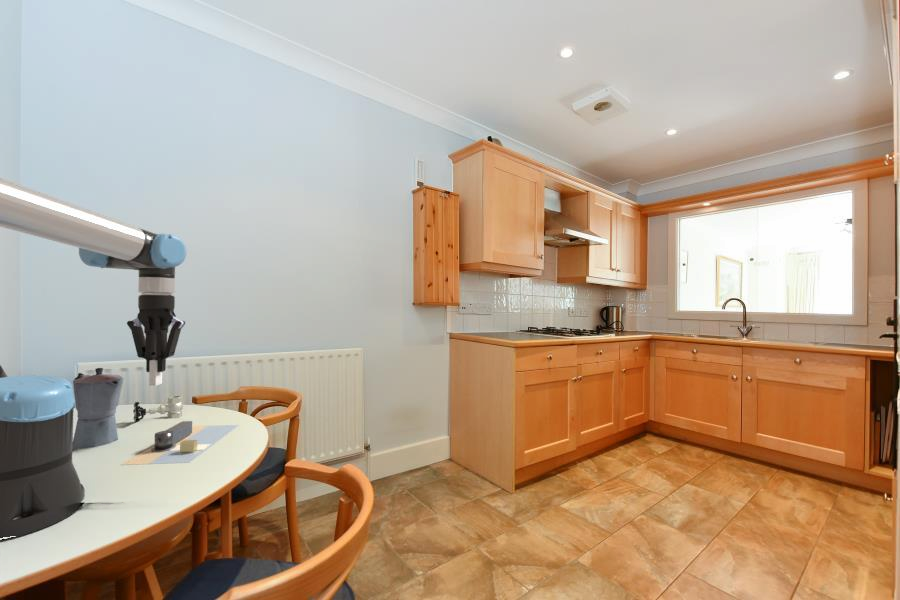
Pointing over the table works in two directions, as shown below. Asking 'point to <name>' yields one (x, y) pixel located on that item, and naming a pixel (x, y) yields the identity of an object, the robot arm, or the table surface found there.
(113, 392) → the moka pot
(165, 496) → the table surface
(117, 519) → the table surface
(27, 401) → the robot arm
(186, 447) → the block
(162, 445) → the latch bar
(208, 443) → the door panel
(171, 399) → the valve
